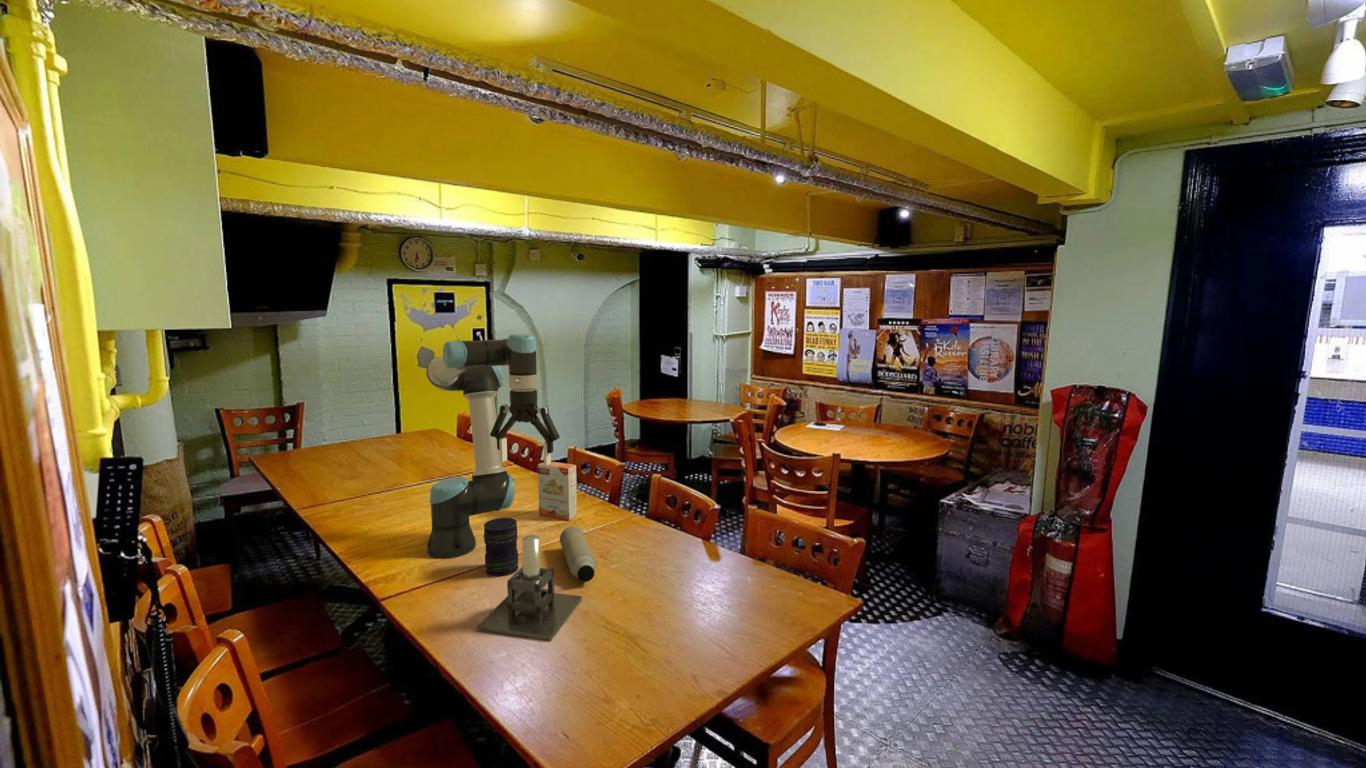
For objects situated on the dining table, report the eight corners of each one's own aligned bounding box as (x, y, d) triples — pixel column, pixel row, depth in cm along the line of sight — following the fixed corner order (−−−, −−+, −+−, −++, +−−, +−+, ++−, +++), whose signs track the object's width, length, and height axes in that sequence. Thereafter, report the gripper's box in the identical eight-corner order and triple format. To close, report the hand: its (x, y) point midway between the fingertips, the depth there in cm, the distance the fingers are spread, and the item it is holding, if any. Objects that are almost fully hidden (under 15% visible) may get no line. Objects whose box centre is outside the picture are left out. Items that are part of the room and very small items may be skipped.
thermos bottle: (587, 530, 194) (604, 566, 168) (576, 551, 194) (592, 590, 168) (566, 522, 192) (580, 557, 165) (555, 544, 191) (567, 582, 165)
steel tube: (519, 613, 150) (518, 540, 148) (527, 605, 155) (526, 534, 152) (535, 616, 149) (535, 542, 147) (543, 607, 154) (543, 535, 151)
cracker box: (538, 516, 223) (536, 463, 220) (547, 511, 228) (546, 460, 225) (568, 521, 217) (568, 468, 215) (577, 516, 223) (576, 464, 220)
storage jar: (500, 580, 171) (498, 532, 169) (478, 571, 176) (476, 525, 174) (525, 567, 179) (524, 521, 177) (503, 559, 185) (502, 515, 182)
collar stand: (477, 630, 144) (475, 588, 143) (515, 592, 164) (514, 555, 162) (550, 640, 140) (550, 598, 139) (581, 600, 160) (581, 562, 158)
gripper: (475, 389, 160) (478, 462, 163) (559, 393, 155) (560, 469, 158) (490, 385, 168) (492, 456, 171) (570, 389, 163) (571, 461, 165)
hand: (525, 462), depth 164 cm, fingers open, 13 cm apart
